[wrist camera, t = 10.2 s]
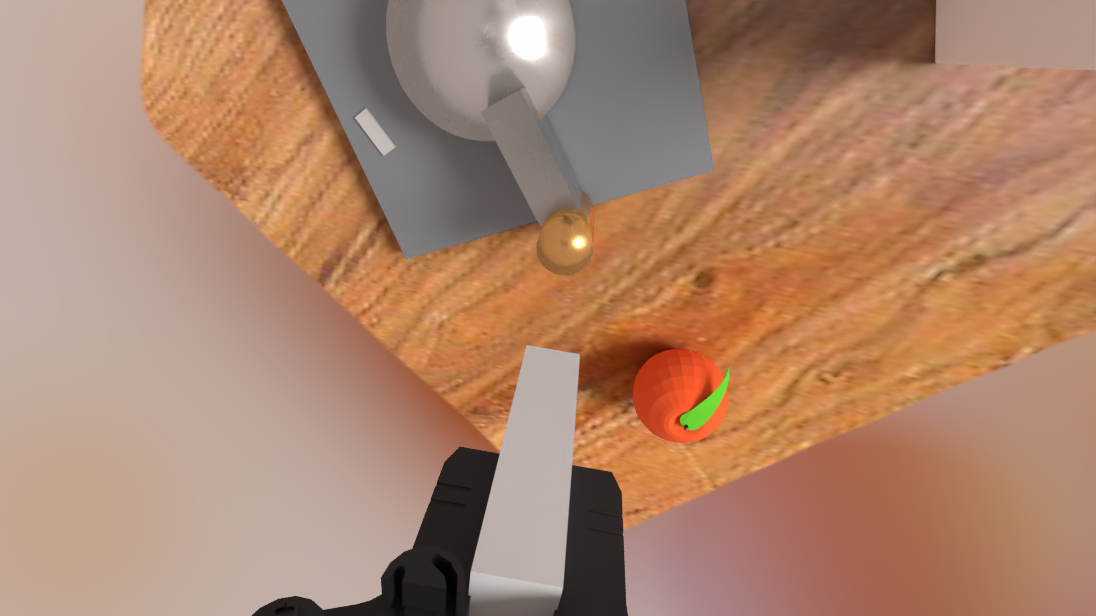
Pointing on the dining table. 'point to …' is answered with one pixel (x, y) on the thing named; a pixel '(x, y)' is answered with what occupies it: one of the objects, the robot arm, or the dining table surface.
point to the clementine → (680, 395)
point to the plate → (479, 166)
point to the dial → (501, 98)
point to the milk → (1017, 33)
